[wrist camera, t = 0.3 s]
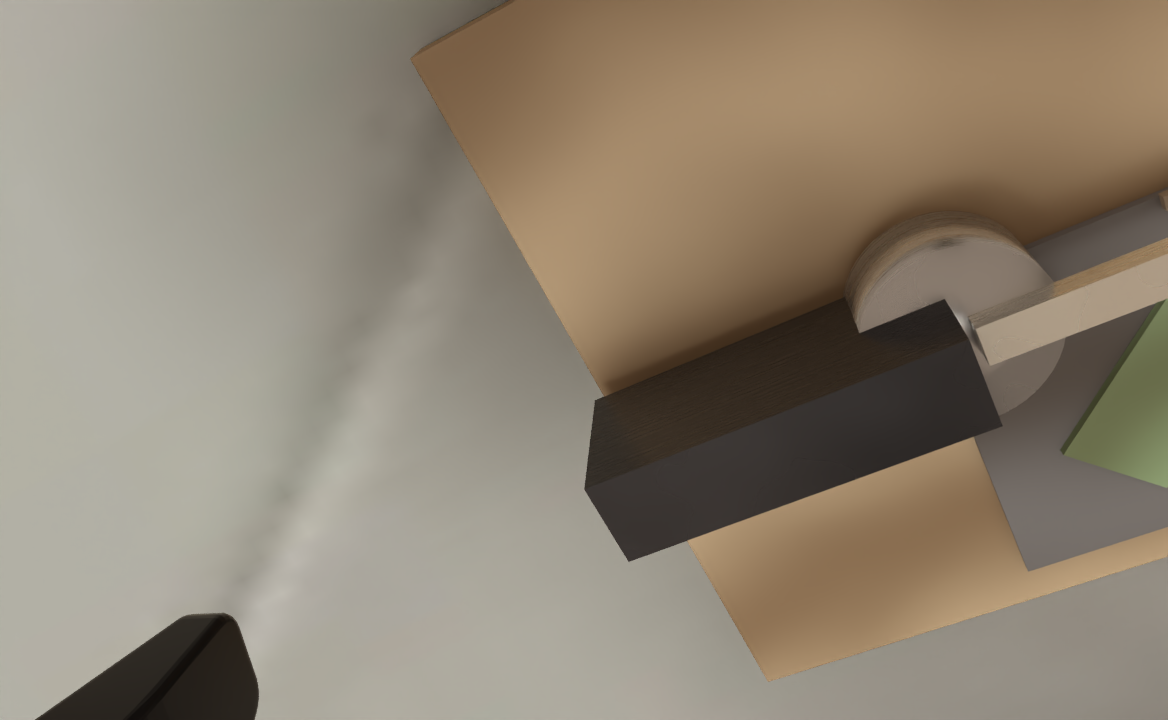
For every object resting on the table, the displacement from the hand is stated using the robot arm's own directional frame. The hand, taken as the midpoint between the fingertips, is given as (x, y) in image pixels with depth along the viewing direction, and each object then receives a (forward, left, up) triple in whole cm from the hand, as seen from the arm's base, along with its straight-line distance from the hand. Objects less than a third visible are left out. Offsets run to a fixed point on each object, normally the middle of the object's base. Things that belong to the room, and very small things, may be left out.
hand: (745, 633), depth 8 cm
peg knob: (-4, -3, -12) cm, 13 cm away
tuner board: (-4, -3, -13) cm, 14 cm away
